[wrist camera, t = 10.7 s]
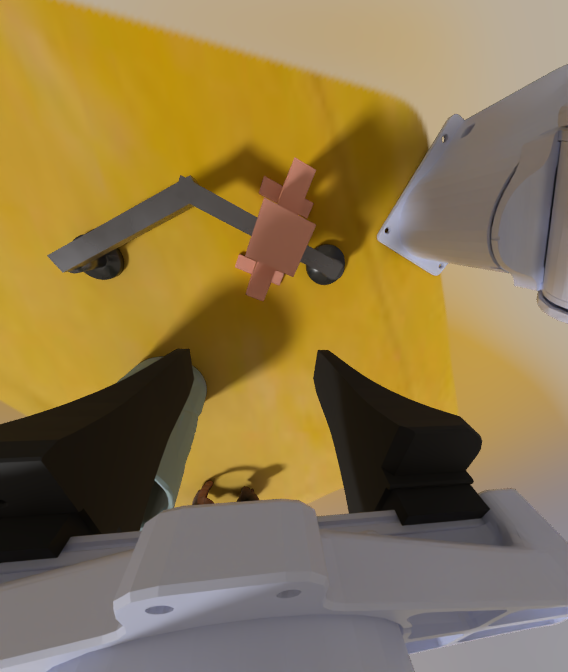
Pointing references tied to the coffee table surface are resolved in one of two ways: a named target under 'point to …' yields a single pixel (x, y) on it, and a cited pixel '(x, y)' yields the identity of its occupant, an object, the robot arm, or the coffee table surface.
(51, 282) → the coffee table surface
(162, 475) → the green tapered cup
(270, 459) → the coffee table surface
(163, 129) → the coffee table surface
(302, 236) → the pink blocky toy figure
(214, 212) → the wheeled bent frame
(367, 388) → the robot arm
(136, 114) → the coffee table surface
